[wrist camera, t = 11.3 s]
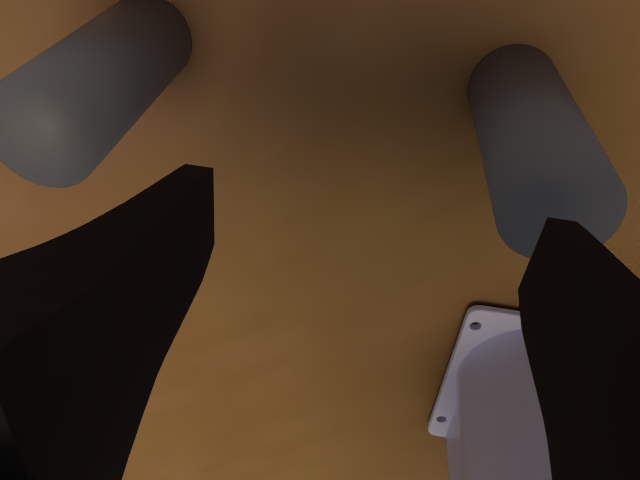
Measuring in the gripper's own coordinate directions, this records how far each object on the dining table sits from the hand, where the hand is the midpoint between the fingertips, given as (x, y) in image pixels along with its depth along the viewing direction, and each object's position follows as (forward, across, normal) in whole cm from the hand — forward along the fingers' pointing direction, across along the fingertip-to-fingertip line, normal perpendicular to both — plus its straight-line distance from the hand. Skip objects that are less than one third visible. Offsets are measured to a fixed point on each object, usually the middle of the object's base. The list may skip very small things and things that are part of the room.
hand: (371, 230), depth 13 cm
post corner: (+10, +8, 0) cm, 13 cm away
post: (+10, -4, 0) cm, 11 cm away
